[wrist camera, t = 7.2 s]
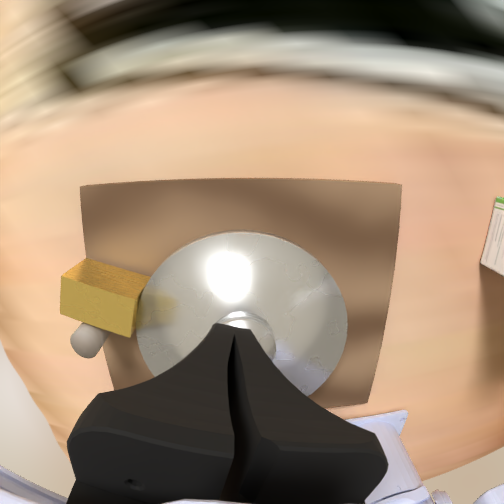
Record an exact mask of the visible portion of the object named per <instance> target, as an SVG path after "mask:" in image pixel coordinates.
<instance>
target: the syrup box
mask: <svg viewBox="0 0 504 504" xmlns="http://www.w3.org/2000/svg"><path fill="white" fill-rule="evenodd" d="M480 263H481V264H482V265H484V266H486V267H488V268H489V269H491V270H493V271H494V272H496V273H498V274H500V275H501V276H503V277H504V198H502V197H499V196H498V197H497V198H496V199H495V204H494V208H493V213H492V218H491V222H490V226H489V230H488V235H487V238H486V243H485V247H484V250H483V254H482V258H481V261H480Z"/></svg>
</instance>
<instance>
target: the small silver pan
mask: <svg viewBox="0 0 504 504" xmlns="http://www.w3.org/2000/svg"><path fill="white" fill-rule="evenodd" d="M60 314H63V315H65V316H68V317H71V318H73V319H76V320H79V321H81V322H84V323H87V324H90V325H93V326H96V327H98V328H101V329H104V330H107V331H110V332H113V333H116V334H120V335H123V336H126V337H129V338H130V337H131V335H132V334H133V332H134V330H135V328H136V334H137V340H138V345H139V349H140V351H141V354H142V356H143V359H144V361H145V363H146V364H147V366H148V368H149V370H150V371H151V372H152V374H153V375H154V376H155V377H156V376H158V375H159V374H161V373H163V372H165V371H166V370H168V369H170V368H171V367H173V366H174V365H176V364H177V363H178V362H180V361H181V360H182V359H184V358H185V357H186V356H187V355H188V354H189V353H190V352H191V351H193V350H194V349H195V348H196V347H197V346H198V345H199V343H200V342H201V341H202V340H203V339H204V338H205V336H206V335H207V334H208V332H209V331H210V329H211V328H212V325H213V324H215V323H221V324H226V325H231V326H236V327H241V328H246V329H251V331H252V332H253V334H254V335H255V337H256V339H257V340H258V342H259V343H260V345H261V346H262V348H263V350H264V351H265V352H266V354H267V355H268V357H269V358H270V359H271V361H272V362H273V363H274V364H275V366H276V367H277V368H278V369H279V370H280V371H281V373H282V374H283V375H284V376H285V377H286V378H287V379H288V380H289V381H290V382H291V383H292V384H293V385H294V386H295V387H297V388H298V389H299V390H300V391H301V392H302V393H303V394H305V395H306V396H307V397H308V396H309V395H311V394H312V393H313V392H314V391H316V390H317V389H318V388H319V387H320V386H321V385H322V384H323V383H324V382H325V381H326V380H327V379H328V377H329V376H330V375H331V373H332V372H333V371H334V369H335V367H336V365H337V364H338V362H339V360H340V358H341V355H342V353H343V350H344V347H345V343H346V338H347V329H348V322H347V311H346V307H345V302H344V299H343V297H342V294H341V292H340V289H339V288H338V286H337V284H336V282H335V281H334V279H333V277H332V276H331V275H330V274H329V272H328V271H327V270H326V268H325V267H324V266H323V265H322V263H321V262H320V261H319V260H318V259H317V258H315V257H314V256H313V255H312V254H311V253H310V252H309V251H307V250H306V249H304V248H303V247H301V246H300V245H298V244H296V243H294V242H292V241H290V240H289V239H287V238H284V237H281V236H278V235H275V234H272V233H268V232H263V231H258V230H245V229H239V230H225V231H220V232H215V233H211V234H208V235H205V236H202V237H199V238H197V239H195V240H193V241H190V242H188V243H186V244H185V245H183V246H182V247H180V248H179V249H177V250H176V251H174V252H173V253H172V254H171V255H170V256H169V257H168V258H166V259H165V260H164V261H163V262H162V264H161V265H160V266H159V267H158V269H157V270H156V271H155V272H154V274H153V275H152V276H151V277H149V276H146V275H142V274H139V273H135V272H132V271H128V270H125V269H122V268H118V267H115V266H112V265H108V264H105V263H102V262H99V261H95V260H92V259H89V258H86V259H84V260H83V261H81V262H80V263H79V264H77V265H76V266H74V267H73V268H71V269H70V270H69V271H67V272H66V273H64V274H63V275H62V276H61V294H60Z"/></svg>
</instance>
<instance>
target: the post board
mask: <svg viewBox="0 0 504 504" xmlns="http://www.w3.org/2000/svg"><path fill="white" fill-rule="evenodd" d="M401 194H402V185H401V184H396V183H383V182H367V181H349V180H327V179H293V178H212V179H178V180H156V181H138V182H123V183H109V184H96V185H86V186H81V187H80V198H81V212H82V223H83V233H84V242H85V250H86V258H89V259H92V260H95V261H99V262H102V263H105V264H108V265H112V266H115V267H118V268H122V269H125V270H128V271H132V272H135V273H139V274H142V275H146V276H149V277H151V276H152V275H153V274H154V272H155V271H156V270H157V269H158V267H159V266H160V265H161V264H162V262H163V261H164V260H165V259H166V258H168V257H169V256H170V255H171V254H172V253H173V252H174V251H176V250H177V249H179V248H180V247H182V246H183V245H185V244H186V243H188V242H190V241H193V240H195V239H197V238H199V237H202V236H205V235H208V234H211V233H215V232H220V231H225V230H239V229H245V230H258V231H263V232H268V233H272V234H275V235H278V236H281V237H284V238H287V239H289V240H290V241H292V242H294V243H296V244H298V245H300V246H301V247H303V248H304V249H306V250H307V251H309V252H310V253H311V254H312V255H313V256H314V257H315V258H317V259H318V260H319V261H320V262H321V263H322V265H323V266H324V267H325V268H326V270H327V271H328V272H329V274H330V275H331V276H332V277H333V279H334V281H335V282H336V284H337V286H338V288H339V289H340V292H341V294H342V297H343V299H344V302H345V307H346V311H347V322H348V329H347V338H346V343H345V347H344V350H343V353H342V355H341V358H340V360H339V362H338V364H337V365H336V367H335V369H334V371H333V372H332V373H331V375H330V376H329V377H328V379H327V380H326V381H325V382H324V383H323V384H322V385H321V386H320V387H319V388H318V389H317V390H316V391H314V392H313V393H312V394H311V395H309V396H308V398H310V399H311V400H313V401H314V402H315V403H317V404H318V405H320V406H321V407H323V408H331V407H339V406H348V405H355V404H362V403H367V402H368V399H369V395H370V391H371V387H372V383H373V379H374V375H375V371H376V367H377V363H378V358H379V354H380V349H381V344H382V340H383V335H384V330H385V324H386V319H387V313H388V308H389V302H390V296H391V289H392V282H393V275H394V268H395V260H396V252H397V243H398V233H399V222H400V209H401ZM70 341H71V345H72V347H73V349H74V351H75V352H76V353H77V354H79V355H80V356H82V357H84V358H93V357H95V356H96V354H97V353H98V351H99V350H100V348H101V347H102V345H103V349H104V353H105V357H106V361H107V365H108V369H109V372H110V376H111V380H112V383H113V387H114V390H119V389H123V388H127V387H130V386H134V385H136V384H139V383H142V382H145V381H147V380H150V379H152V378H154V377H155V376H154V375H153V374H152V372H151V371H150V370H149V368H148V366H147V364H146V363H145V361H144V359H143V356H142V354H141V351H140V349H139V345H138V340H137V334H136V328H135V330H134V332H133V334H132V335H131V337H130V338H129V337H126V336H123V335H120V334H116V333H113V332H110V331H107V330H104V329H101V328H98V327H96V326H93V325H90V324H87V323H84V322H83V323H82V324H81V325H80V326H79V327H78V328H77V330H76V331H75V332H74V333H73V334H72V336H71V339H70Z"/></svg>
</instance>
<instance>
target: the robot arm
mask: <svg viewBox="0 0 504 504" xmlns="http://www.w3.org/2000/svg"><path fill="white" fill-rule="evenodd" d="M407 416H408V412H407V410H400V411H395V412H390V413H385V414H379V415H373V416H367V417H361V418H354V419H347V420H343V419H341V418H340V417H338V416H336V415H334V414H332V413H331V412H329V411H327V410H326V409H324V408H323V407H321V406H320V405H318V404H317V403H315V402H314V401H313V400H311V399H310V398H308V397H307V396H306V395H305V394H303V393H302V392H301V391H300V390H299V389H298V388H297V387H295V386H294V385H293V384H292V383H291V382H290V381H289V380H288V379H287V378H286V377H285V376H284V375H283V374H282V373H281V371H280V370H279V369H278V368H277V367H276V366H275V364H274V363H273V362H272V361H271V359H270V358H269V357H268V355H267V354H266V352H265V351H264V350H263V348H262V346H261V345H260V343H259V342H258V340H257V339H256V337H255V335H254V334H253V332H252V331H251V329H246V328H241V327H236V326H231V325H226V324H221V323H215V324H213V325H212V328H211V329H210V331H209V332H208V334H207V335H206V336H205V338H204V339H203V340H202V341H201V342H200V343H199V345H198V346H197V347H196V348H195V349H194V350H193V351H191V352H190V353H189V354H188V355H187V356H186V357H185V358H184V359H182V360H181V361H180V362H178V363H177V364H176V365H174V366H173V367H171V368H170V369H168V370H166V371H165V372H163V373H161V374H159V375H158V376H156V377H154V378H152V379H150V380H147V381H145V382H142V383H139V384H136V385H134V386H130V387H127V388H123V389H119V390H114V391H109V392H104V393H99V394H98V395H97V396H96V397H95V398H94V399H93V400H92V401H91V403H90V404H89V405H88V406H87V408H86V409H85V410H84V411H83V413H82V414H81V416H80V417H79V419H78V421H77V422H76V424H75V426H74V428H73V430H72V432H71V434H70V436H69V438H68V440H67V449H68V453H69V457H70V461H71V464H72V468H73V471H74V474H75V477H76V481H75V483H74V486H73V488H72V491H71V493H70V495H69V498H66V497H64V496H61V495H59V494H56V493H54V492H52V491H49V490H47V489H45V488H43V487H41V486H39V485H37V484H35V483H33V482H30V481H29V480H27V479H25V478H23V477H21V476H19V475H17V474H15V473H13V472H12V471H9V470H8V469H6V468H4V467H3V466H1V465H0V504H434V503H433V500H432V499H431V497H430V495H429V493H428V491H427V489H426V487H425V486H424V485H423V483H422V481H421V479H420V477H419V474H418V472H417V470H416V468H415V466H414V464H413V462H412V460H411V459H410V457H409V455H408V453H407V451H406V449H405V447H404V445H403V443H402V441H401V439H400V437H399V436H400V433H401V431H402V429H403V426H404V424H405V421H406V419H407ZM431 494H432V496H433V498H434V500H435V504H453V503H452V501H451V499H450V498H449V496H448V494H447V493H446V492H445V491H439V490H435V491H433V492H432V493H431ZM473 504H504V484H501V485H499V486H497V487H494V488H492V489H490V490H488V491H486V492H485V493H484V494H482V495H481V496H480V497H479V498H478V499H477V500H476V501H475V502H474V503H473Z"/></svg>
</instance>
